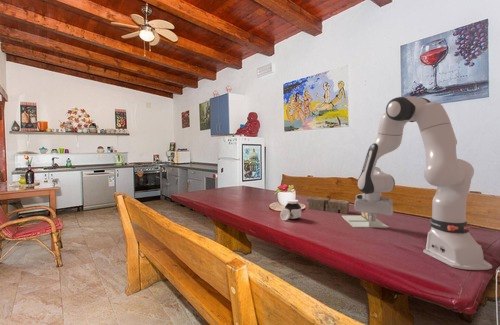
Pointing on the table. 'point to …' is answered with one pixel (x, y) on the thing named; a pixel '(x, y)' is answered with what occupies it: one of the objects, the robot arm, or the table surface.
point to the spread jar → (291, 210)
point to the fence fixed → (365, 215)
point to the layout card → (363, 222)
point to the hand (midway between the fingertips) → (373, 221)
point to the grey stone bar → (328, 205)
